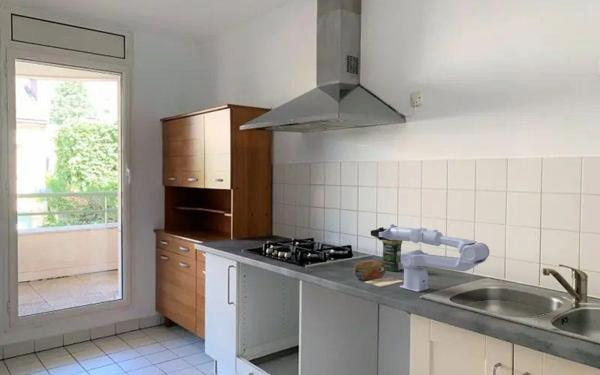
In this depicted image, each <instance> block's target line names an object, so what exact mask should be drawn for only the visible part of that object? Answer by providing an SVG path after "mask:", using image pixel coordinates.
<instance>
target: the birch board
mask: <svg viewBox="0 0 600 375" xmlns="http://www.w3.org/2000/svg"><path fill="white" fill-rule="evenodd" d="M364 283H365V284H368V285H371V286H375V287H379V288H383V287H388V286H391V285H392V286H393V285H395V284H400V283H404V280H401V279H398V278H392V277H388V276H383V277H381V278H379V279H369V280H365V281H364Z"/></svg>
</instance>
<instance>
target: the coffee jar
mask: <svg viewBox="0 0 600 375" xmlns="http://www.w3.org/2000/svg"><path fill="white" fill-rule="evenodd" d="M381 242H382V246H383V247H382V248H383V250H382V258H381V262H382V263H383V264H384V265H385V271H391V272H399V271H401V270H402V269H403V268H402V267H403V265H402V263H401V259H400V258H401V255H402V245H403V241H399V240H389V239H387V238H384V237H383V240H381Z"/></svg>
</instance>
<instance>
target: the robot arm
mask: <svg viewBox="0 0 600 375" xmlns="http://www.w3.org/2000/svg"><path fill="white" fill-rule="evenodd" d="M370 236H372V237H374V238H377V239H378V240H379V241H382V240H383V237H384V238H387V239H389V240H399V241H402V242H412V243H414V244H418V243H422V244H425V245H430V246H435V247H440V246H441V245H444V246H449V247H452V248H456V249H457V251H458V253H459V254H460V255H459V257H454V256H446V255H445V256H444V255H439V254H438V255H436V254H429V253H427V252H425V251H422V250H420V249H416V250H413V251H408V252H407V251H405V252H402V253H401V258H400V259H401V263H402V267H403V284H402V285H399V288H401V289H406V290H409V291H413V292H422V291H425V290H426V291H427V290H429V289H430V288H429V272H428V271H427V270H426V269H425V268H423V267H429V268H436V269H441V270H442V269H443V270H449V271H456V272H457V271H458V272H466V271H469V270H471V269H473V268H475V267H476V266H478V265H480V264H482V263H484V262H486V260H487V259H488V258H489V256H490V253H491V252H490V248H489V246H488V245H487V244H485V243H484V242H478V241H477V240H473V239H468V238H467V239H466V238H461V237H451V236H448V235H447V236H445V235H443V234H442V232H441V231H439V230H438V229H432V230H431V229H428V228H425V227H424V228H423V227H419V228H418V227H417V228H414V227H413V228H412V227H404V226H402V227H399V226H397V225H395V224H394V223H391V224H390V225H389V227H388V228H385V227H379V228H377V229H373V230H370Z"/></svg>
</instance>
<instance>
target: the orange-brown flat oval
mask: <svg viewBox="0 0 600 375" xmlns="http://www.w3.org/2000/svg"><path fill="white" fill-rule="evenodd" d="M353 273H354V276H355V278H357V279H359V280H360V281H370V280H375V279H379V278H383V277H384V275H385V273H386V270H385V265H384V264H383V263H382V260H376V259H375V260H374V259H373V260H361V261H358V262H357V263H356V264H355V265H354V267H353Z"/></svg>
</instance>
